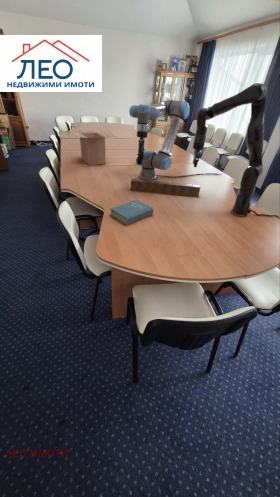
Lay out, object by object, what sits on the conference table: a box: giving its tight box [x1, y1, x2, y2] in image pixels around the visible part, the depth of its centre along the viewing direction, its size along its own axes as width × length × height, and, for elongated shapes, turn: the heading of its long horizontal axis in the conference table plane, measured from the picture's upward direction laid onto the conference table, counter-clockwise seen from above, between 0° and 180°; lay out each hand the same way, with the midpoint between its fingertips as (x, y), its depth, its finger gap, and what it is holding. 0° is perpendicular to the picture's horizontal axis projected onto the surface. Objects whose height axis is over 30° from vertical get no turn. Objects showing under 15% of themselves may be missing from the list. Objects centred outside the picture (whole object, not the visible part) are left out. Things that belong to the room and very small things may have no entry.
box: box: [70, 129, 114, 166], centre depth 229 cm, size 44×36×27 cm
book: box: [109, 199, 154, 226], centre depth 142 cm, size 23×16×5 cm
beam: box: [130, 178, 201, 198], centre depth 176 cm, size 54×4×8 cm, turn 84°
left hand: (140, 162), depth 167 cm, fingers open, 13 cm apart
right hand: (194, 165), depth 164 cm, fingers open, 8 cm apart
